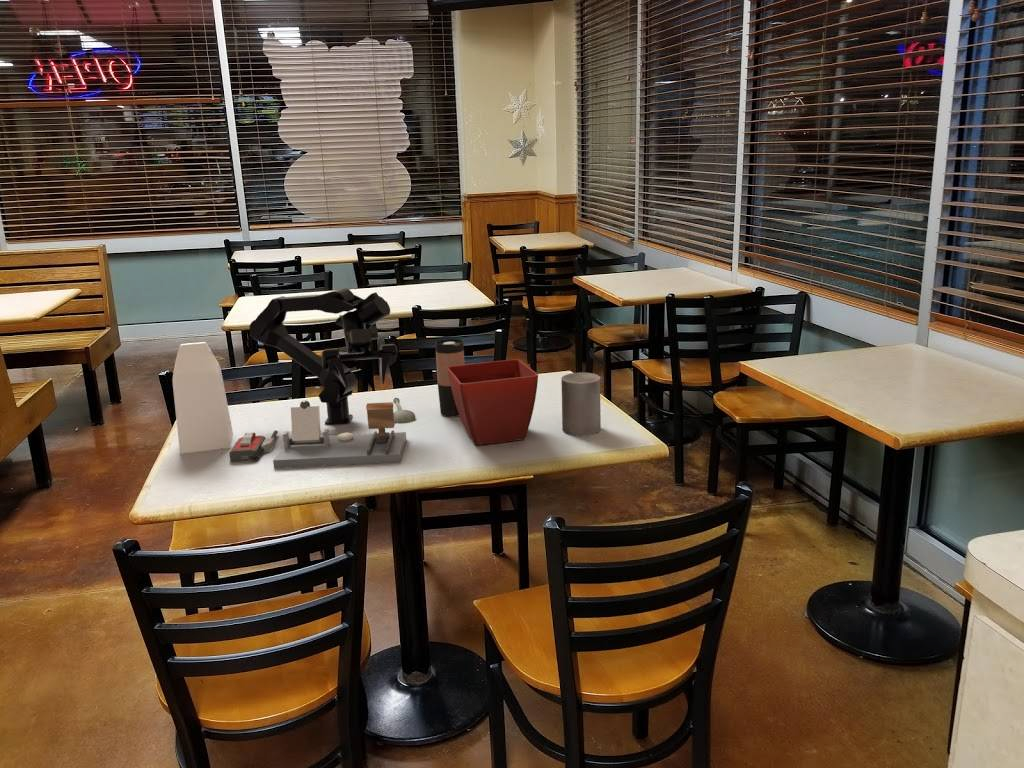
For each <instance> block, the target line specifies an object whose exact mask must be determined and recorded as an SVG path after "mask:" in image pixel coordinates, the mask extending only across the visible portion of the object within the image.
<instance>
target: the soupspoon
mask: <svg viewBox="0 0 1024 768" xmlns="http://www.w3.org/2000/svg"><path fill="white" fill-rule="evenodd" d="M399 402H400V398H398V397H395V398H393V403H395V404H396V406H397V410H396V411H393V413H394V424H397V423H398V424H400V425H401V424H411V423H412V422H415V420H416V414H415V412H413V411H411V410H409V409H403V408H402V406H401V405H400V403H399ZM398 424H397V425H398Z"/></svg>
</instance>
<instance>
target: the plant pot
mask: <svg viewBox="0 0 1024 768" xmlns="http://www.w3.org/2000/svg"><path fill="white" fill-rule="evenodd" d="M447 371H448V376H449V381H450V385H451V389H452V393H453V396H454V400H455V403H456V406H457V410H458V413H459V416H458V417H459V418H460V421H461V423H462V426H463V428H464V431H465V432H466V434H467V436H468V437H469V438H470V440H471V441H472V443H473V444H474V445H475V446H481V445H482V446H483V445H488V444H489V445H490V444H498V443H505V442H506V443H507V442H512V441H515V442H516V441H520V440H521V441H522V440H525V439H526V437H527V434H528V431H529V427H530V424H531V420H532V418H533V417H532V416H533V412H534V409H535V402H536V397H537V392H538V391H537V390H538V382H539V374H538V373H537V372H536V371H534V370H533V369H532V368H531V367H529V365H527V364H526V363H524V362H523V361H522V360H521V359H518V358H516V359H513V358H512V359H507V360H504V359H503V360H495V361H485V362H478V363H476V362H475V363H474V362H473V363H465V365H457V366H449V367H447Z"/></svg>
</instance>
